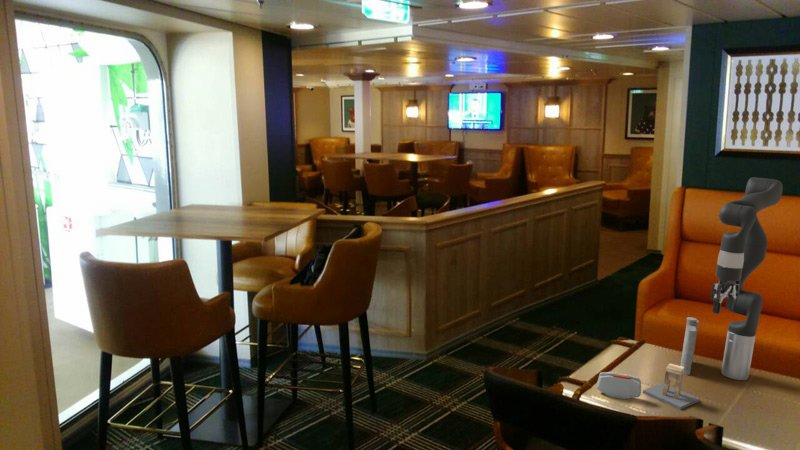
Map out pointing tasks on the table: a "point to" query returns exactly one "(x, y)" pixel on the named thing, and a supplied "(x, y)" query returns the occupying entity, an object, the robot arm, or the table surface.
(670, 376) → the beech stool
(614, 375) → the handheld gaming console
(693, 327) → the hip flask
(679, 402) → the mat
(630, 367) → the table surface
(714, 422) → the table surface
